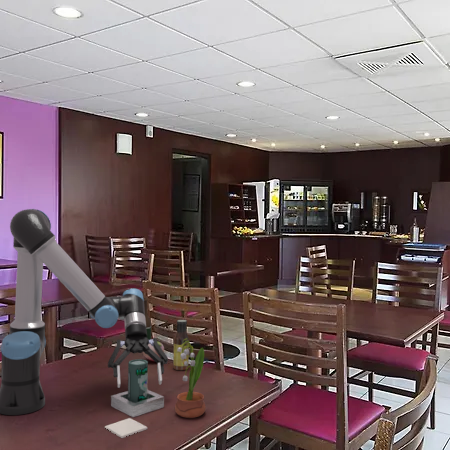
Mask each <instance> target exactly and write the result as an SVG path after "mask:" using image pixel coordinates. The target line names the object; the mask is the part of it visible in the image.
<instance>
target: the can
mask: <svg viewBox="0 0 450 450" xmlns="http://www.w3.org/2000/svg"><path fill="white" fill-rule="evenodd" d="M148 366H149V360H145V359H140V358H139V359H137V358H136V359H132V360H129V362H128V365H127V367H128V369H127V370H128V371H127V372H128V373H127V374H128V375H127V376H128V377H127V379H128V380H127V382H128V383H127V391H128V400H129V401H131V402H133V403H137V402H140V401H143V400H146V399H147V390H148V376H149V375H148V374H149V373H148V369H149V367H148Z"/></svg>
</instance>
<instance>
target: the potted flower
mask: <svg viewBox="0 0 450 450" xmlns="http://www.w3.org/2000/svg"><path fill="white" fill-rule="evenodd" d="M188 338H189V337H188ZM188 338H186V339H187V340H188ZM186 339H184V340H186ZM184 340H183V341H184ZM187 342H188V344H189V345H188V344H187V346H186V347H185V348H186V349H185V348H184V345H185V343H187ZM182 345H183V347H182V348H180V347H181V346H182ZM182 345H181V346H180V347H179V348H178V350H177V351H179V352H181V350H182V354H181V359H182V360H184V358H185V359H187V358H186V355H187V354H189V356H187V357H189V358H190V364H189V361H188V362H187V361H185V362H184V365H185V366H186V365H187V366H188V367H187V369H186V370H185V373H184V375H183V376H182V381H183V382H188V391H184V392H181V393H179V394H177V396H176V398H177V399H176V403H175V406H174V411H175V413H176V415H178V416H180V417H183V418H187V419H194V418H198V417H200V416H202V415H203V414H204V413H205V412H206V410H207V407H206V402H205V401H204V399H205V395H204V394H203V393H201V392H197V391H194V389H195V387H196V385H197V382H198V380H199V379H200V377H201V374H202V370H203V368H204V363H205V362H204V360H205V350H204V347H200V349H199V350H198V352H197V354H196V356H195V353H194V351H193V350H194V347H193V345H191V342H190V340H189V341H185V342H184V344H182ZM187 347H189V349H187ZM183 348H184V349H185V350H184V353H183ZM189 368H190V370H189V376H188V375H186V374H187V371H188V369H189Z"/></svg>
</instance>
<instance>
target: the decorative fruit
mask: <svg viewBox="0 0 450 450" xmlns="http://www.w3.org/2000/svg"><path fill="white" fill-rule="evenodd" d="M157 343H158V344H159V346H160V347H161V349H162V350H163V352H164V353H165V347H164V345H163V343H162V342H160V341H158V340H157ZM148 346H149V347H150V349H151V350H152V351H153V352H155V353H156V354H157V355H158V353H157V352H156V350H155V349H154V347H153V346H152V345H151V344H148ZM142 354H143V356H144V357H145V358H146V359H147V360H148V361H151V362H155V361H154V360H153V359H152V358H151V357H150V356H148V355H147V354H145V353H144V352H142ZM158 356H159V355H158ZM159 357H160V356H159Z"/></svg>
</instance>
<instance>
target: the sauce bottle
mask: <svg viewBox="0 0 450 450" xmlns="http://www.w3.org/2000/svg"><path fill="white" fill-rule="evenodd" d="M187 324H188V320H186V319H178V320H176V325H177V326H176V328H177V329H176V333H175V334H174V336H173V361H172V362H173V369H174V370H176V371H186V369H187V367H188V366H189V365H188V366H187V365H186V366H185V365H184V362H185V361H187V362H188V363H189V361H190V360H189V358H190V357H187V356H190V353H189V354H187V355H186V358H187V359H185V358H184V360H182V359H181V354H182V350H181V352H179V351H177V350H178V348H179V347H180V346H181V345H182V344H184V342H185V341H189V342H190V338H189V335H188V332H187ZM186 338H188V340H187V339H186ZM184 339H186V340H184ZM183 340H184V341H183ZM187 344H188V342H187V343H185V345H184V348H185V347H186V346H187ZM188 345H189V344H188ZM182 347H183V345H182V346H181V347H180V348H182ZM184 348H183V353H184V350H185V349H186V348H185V349H184ZM187 349H189V350H190V347H187ZM187 370H188V369H187Z"/></svg>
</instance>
